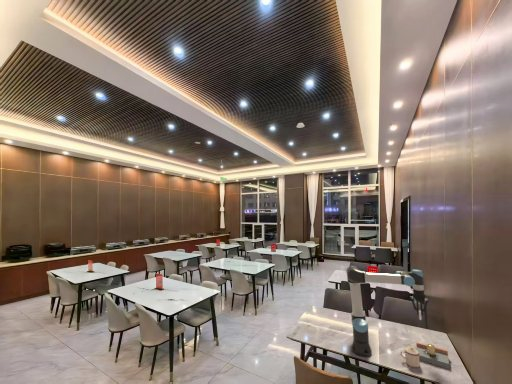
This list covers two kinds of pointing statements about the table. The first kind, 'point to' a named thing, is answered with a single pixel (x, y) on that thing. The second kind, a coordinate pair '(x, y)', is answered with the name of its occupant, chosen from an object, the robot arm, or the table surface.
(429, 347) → the brass cylinder
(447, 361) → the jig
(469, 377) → the table surface
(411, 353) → the teacup with lid
